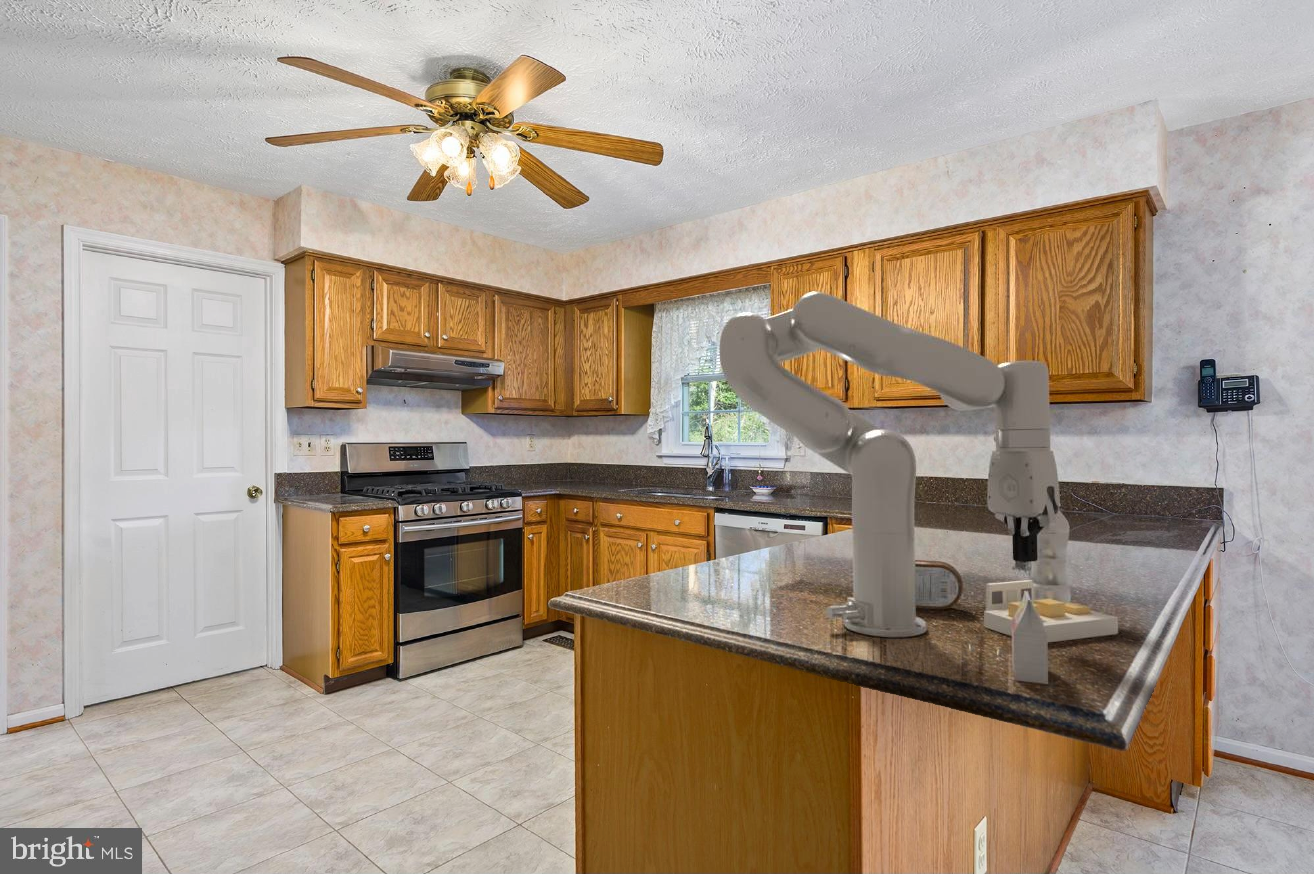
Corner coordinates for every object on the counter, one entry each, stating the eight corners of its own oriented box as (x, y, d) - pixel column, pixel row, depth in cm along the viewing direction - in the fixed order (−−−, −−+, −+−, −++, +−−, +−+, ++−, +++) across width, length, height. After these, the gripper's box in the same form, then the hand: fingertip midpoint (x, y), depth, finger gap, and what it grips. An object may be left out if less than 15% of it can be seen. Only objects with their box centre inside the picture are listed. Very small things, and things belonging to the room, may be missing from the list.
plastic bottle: (1059, 606, 126) (1058, 493, 126) (1078, 615, 120) (1076, 496, 120) (1022, 605, 127) (1020, 494, 127) (1038, 614, 120) (1036, 497, 120)
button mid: (1049, 625, 109) (1049, 604, 109) (1034, 620, 112) (1033, 600, 112) (1065, 623, 110) (1065, 602, 110) (1049, 618, 113) (1048, 598, 113)
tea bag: (1043, 667, 93) (1042, 591, 93) (1048, 684, 87) (1046, 602, 87) (1012, 664, 95) (1011, 589, 95) (1014, 680, 88) (1013, 599, 88)
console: (1034, 643, 104) (1034, 626, 104) (984, 626, 113) (984, 611, 113) (1118, 633, 108) (1117, 617, 108) (1062, 618, 118) (1062, 603, 118)
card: (990, 621, 116) (990, 584, 116) (986, 619, 117) (985, 583, 117) (1034, 616, 119) (1033, 580, 119) (1029, 615, 120) (1029, 579, 120)
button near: (1023, 628, 107) (1023, 606, 107) (1008, 623, 110) (1008, 602, 110) (1039, 626, 108) (1039, 605, 108) (1024, 621, 111) (1023, 601, 111)
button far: (1075, 628, 110) (1075, 608, 110) (1059, 624, 113) (1059, 604, 113) (1090, 627, 111) (1090, 606, 111) (1073, 622, 114) (1073, 602, 114)
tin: (962, 608, 126) (962, 560, 126) (964, 612, 123) (963, 563, 123) (874, 602, 131) (873, 557, 131) (873, 606, 128) (873, 560, 128)
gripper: (967, 442, 115) (970, 555, 115) (1042, 441, 101) (1046, 570, 101) (1004, 441, 118) (1007, 552, 118) (1083, 441, 103) (1086, 566, 103)
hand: (1025, 560), depth 109 cm, fingers closed
